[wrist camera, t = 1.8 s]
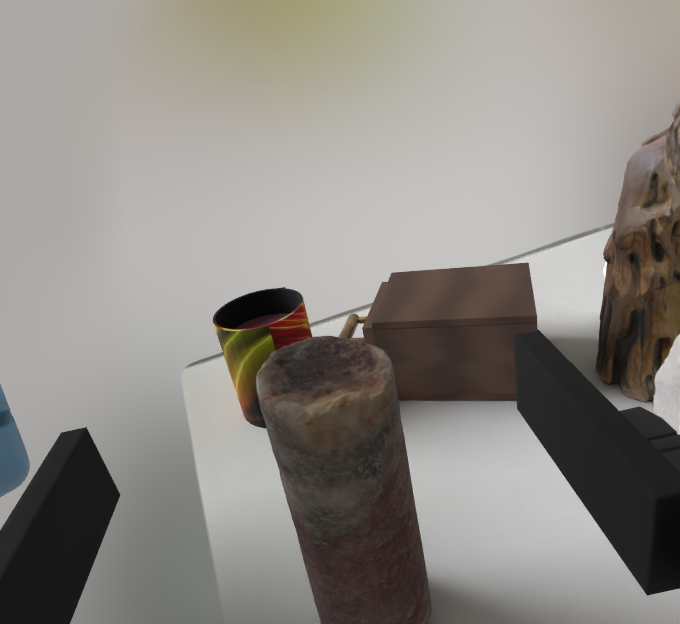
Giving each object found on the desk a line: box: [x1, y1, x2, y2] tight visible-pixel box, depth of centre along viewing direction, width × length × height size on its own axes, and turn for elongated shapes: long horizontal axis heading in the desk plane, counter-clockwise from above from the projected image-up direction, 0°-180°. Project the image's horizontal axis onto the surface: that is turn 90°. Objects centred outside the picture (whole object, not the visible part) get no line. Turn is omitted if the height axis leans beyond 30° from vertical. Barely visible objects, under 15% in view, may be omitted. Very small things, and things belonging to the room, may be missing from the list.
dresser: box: [371, 263, 537, 400], centre depth 57 cm, size 16×13×10 cm
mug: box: [213, 287, 312, 428], centre depth 59 cm, size 10×14×12 cm
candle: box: [256, 336, 432, 624], centre depth 30 cm, size 8×7×20 cm
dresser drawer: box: [338, 282, 388, 346], centre depth 58 cm, size 19×11×8 cm, turn 75°
